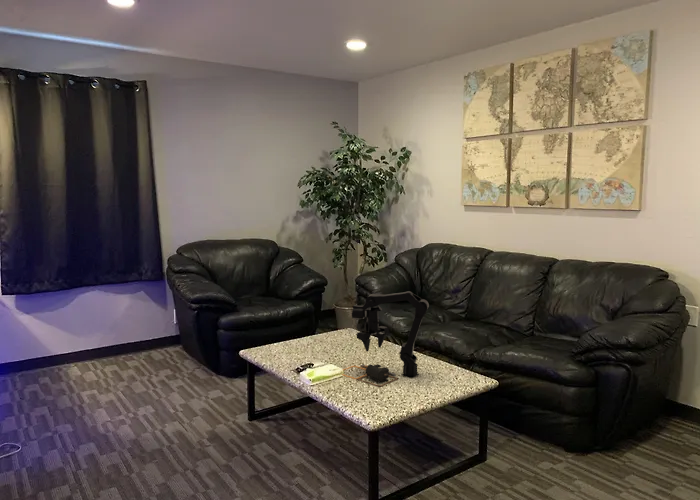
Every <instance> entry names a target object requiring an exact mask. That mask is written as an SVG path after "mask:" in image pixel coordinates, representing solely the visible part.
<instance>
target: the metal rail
mask: <svg viewBox="0 0 700 500" xmlns="http://www.w3.org/2000/svg"><path fill="white" fill-rule="evenodd" d="M367 366H368V365H365V364H363V363H362V364H360V367H362V368H365V369H366V368H367ZM385 374H386V375H390V376H393V377H396V376H397V374H396V373H395V372H390V371H389V373H385Z"/></svg>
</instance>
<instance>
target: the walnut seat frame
mask: <svg viewBox="0 0 700 500" xmlns="http://www.w3.org/2000/svg"><path fill="white" fill-rule="evenodd" d="M384 376H386V374H384ZM368 377H369V376H367V375H366V376H364V377H361V378H359V379H357V380H356V381H359V382H361V383H364V384H367V385H371V386H375V387H377V388H381V387H383V386H384V387H385V386H386V385H388V384H391V383H392V382H395V381H398V380H400V379H399V377H396V376H395V377H393V376H390V375H389V378H392V380H388V381H387V382H383V384H380V385H379V384H376V383H373V382H370V381H367V380H364V379H365V378H368Z"/></svg>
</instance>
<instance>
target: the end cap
mask: <svg viewBox="0 0 700 500" xmlns="http://www.w3.org/2000/svg"><path fill="white" fill-rule="evenodd" d="M389 372H390V369H389V368H388V367H386V366H385V367H382V365H381V364H379V363H378V364H369V365H367V368H366V370H365V374H366V375H367V376H368V377H369V378H370V379H372V380H374V381H376V382H379V383H383V384H384V383H386V382H389V378H390V377H389V375H386V376H384V374H385V373H389Z"/></svg>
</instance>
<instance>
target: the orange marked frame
mask: <svg viewBox="0 0 700 500" xmlns="http://www.w3.org/2000/svg"><path fill="white" fill-rule="evenodd" d="M352 368H357V369H360V370H364V371H366V369H365V368H362V367H361V366H357V365H351V366H349V367H346V368H343V369H342V370H343V371H346V370H349V369H352ZM341 374H342V375H341V376H344V377H347V378H350V379H353V380H356V381H358V380H357V379H359V378H361V377H364V376H366V373H365V374H363V375H361V376H359V377H358V376H357V377H354V376H351V375H347V374H344V373H341Z"/></svg>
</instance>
